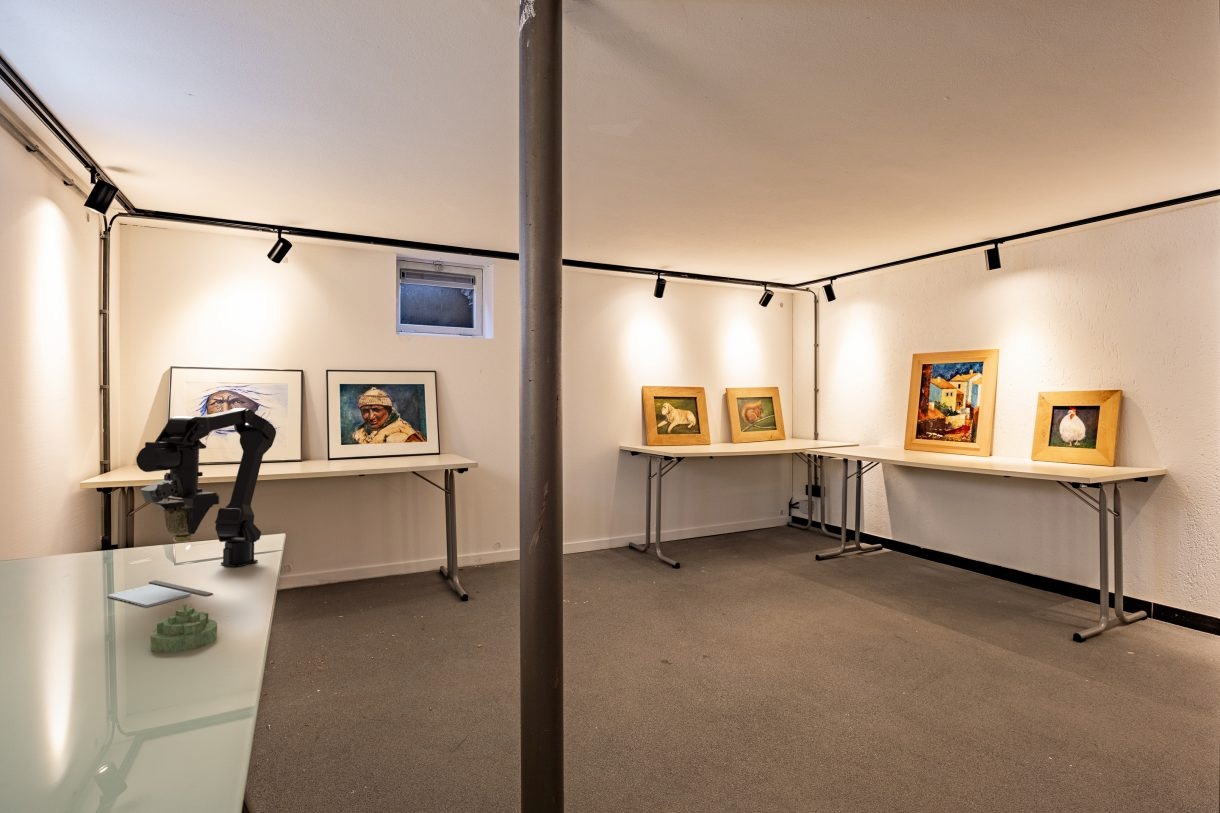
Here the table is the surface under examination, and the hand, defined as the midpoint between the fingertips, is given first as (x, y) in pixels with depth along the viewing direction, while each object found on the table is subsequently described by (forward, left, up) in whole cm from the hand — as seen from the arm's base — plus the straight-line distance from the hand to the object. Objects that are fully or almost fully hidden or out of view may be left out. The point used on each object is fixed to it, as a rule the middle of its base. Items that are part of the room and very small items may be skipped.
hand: (182, 532), depth 146 cm
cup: (0, 0, -2) cm, 2 cm away
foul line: (+3, +3, -12) cm, 13 cm away
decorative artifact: (+21, +37, -13) cm, 45 cm away
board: (+9, +3, -12) cm, 16 cm away
